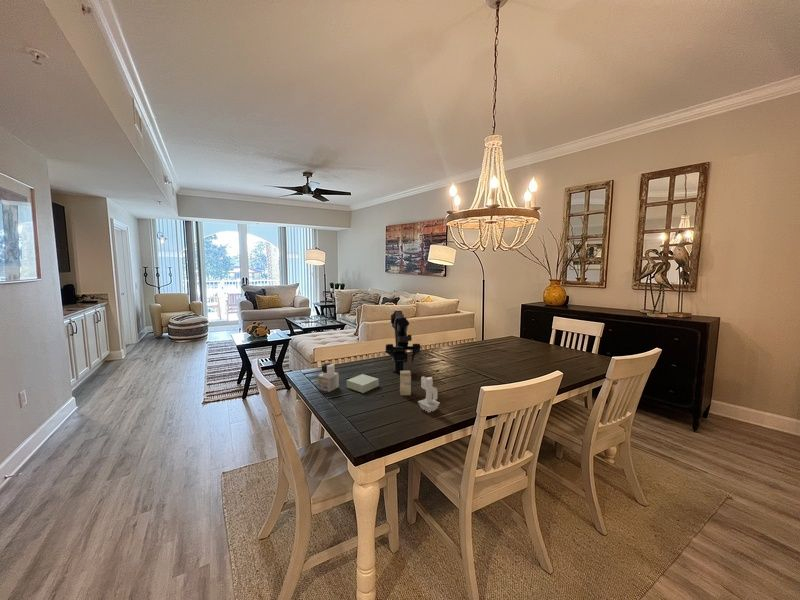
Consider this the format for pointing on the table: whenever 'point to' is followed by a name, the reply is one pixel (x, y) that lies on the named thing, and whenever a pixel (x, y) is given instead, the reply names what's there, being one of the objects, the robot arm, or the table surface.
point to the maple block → (405, 382)
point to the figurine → (429, 395)
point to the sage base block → (362, 383)
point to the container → (328, 378)
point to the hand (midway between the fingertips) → (403, 362)
